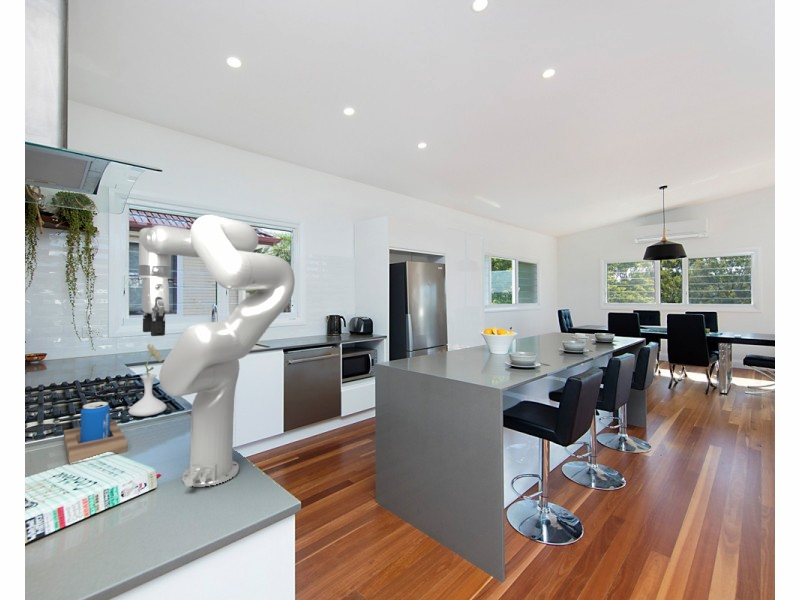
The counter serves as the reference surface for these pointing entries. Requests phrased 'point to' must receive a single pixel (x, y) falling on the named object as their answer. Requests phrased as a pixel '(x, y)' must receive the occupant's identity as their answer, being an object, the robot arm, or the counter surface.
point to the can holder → (93, 444)
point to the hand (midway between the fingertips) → (153, 333)
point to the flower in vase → (148, 392)
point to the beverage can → (95, 421)
